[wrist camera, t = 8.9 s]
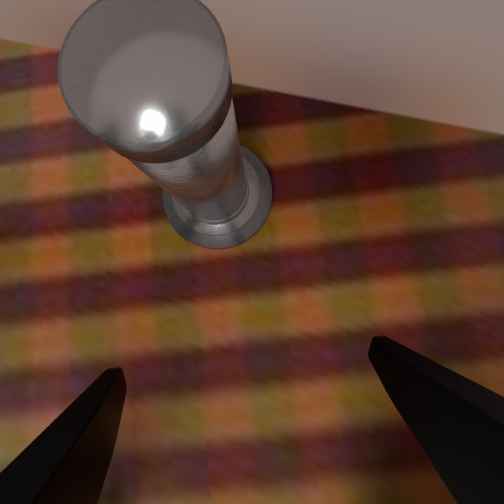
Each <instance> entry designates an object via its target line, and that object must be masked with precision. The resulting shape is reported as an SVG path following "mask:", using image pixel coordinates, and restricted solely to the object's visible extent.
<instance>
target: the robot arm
mask: <svg viewBox="0 0 504 504" xmlns="http://www.w3.org/2000/svg"><path fill="white" fill-rule="evenodd" d="M368 356H369V359H370V361H371V363H372V365H373V367H374V369H375V371H376V373H377V375H378V376H379V378H380V380H381V382H382V384H383V386H384V388H385V390H386V392H387V393H388V395H389V397H390V399H391V400H392V402H393V404H394V405H395V407H396V408H397V410H398V412H399V413H400V415H401V416H402V418H403V419H404V421H405V423H406V424H407V426H408V427H409V429H410V430H411V432H412V433H413V435H414V437H415V438H416V440H417V441H418V443H419V444H420V446H421V447H422V449H423V451H424V452H425V454H426V455H427V457H428V458H429V460H430V461H431V463H432V465H433V466H434V468H435V469H436V471H437V472H438V474H439V476H440V477H441V479H442V480H443V482H444V483H445V485H446V486H447V488H448V490H449V491H450V493H451V494H452V496H453V497H454V499H455V500H456V502H457V504H504V397H502V396H500V395H498V394H497V393H495V392H493V391H491V390H489V389H487V388H485V387H483V386H481V385H479V384H477V383H475V382H473V381H471V380H469V379H467V378H465V377H463V376H462V375H460V374H458V373H456V372H454V371H452V370H450V369H448V368H446V367H444V366H442V365H440V364H438V363H436V362H434V361H432V360H430V359H428V358H426V357H425V356H423V355H421V354H419V353H417V352H415V351H413V350H411V349H409V348H407V347H405V346H403V345H401V344H399V343H397V342H395V341H393V340H391V339H389V338H388V337H386V336H375V337H373V338H372V341H371V344H370V348H369V351H368ZM125 396H126V382H125V378H124V373H123V370H122V368H120V367H118V368H110V369H107V370H105V371H104V372H103V373H102V374H101V375H100V376H99V377H98V378H97V379H96V380H95V381H94V382H93V383H92V384H91V385H90V386H89V387H88V388H87V389H86V390H85V391H84V392H83V393H82V394H81V395H80V396H79V397H78V398H77V399H76V400H75V401H74V402H72V403H71V404H70V405H69V406H68V407H67V408H66V409H65V410H64V411H63V412H62V413H61V414H60V415H59V416H58V417H57V418H56V419H55V420H54V421H53V422H52V423H51V424H50V425H49V426H48V427H47V428H46V429H45V430H44V431H43V432H42V433H41V434H40V435H39V436H38V437H37V438H36V439H35V440H34V441H33V442H32V443H31V444H30V445H28V446H27V447H26V448H25V449H24V450H23V451H22V452H21V453H20V454H19V455H18V456H17V457H16V458H15V459H14V460H13V461H12V462H11V463H10V464H9V465H8V466H7V467H6V468H5V469H4V470H3V471H2V472H1V473H0V504H97V503H98V500H99V497H100V493H101V490H102V487H103V484H104V481H105V477H106V474H107V471H108V468H109V465H110V461H111V458H112V455H113V451H114V448H115V443H116V439H117V434H118V429H119V424H120V420H121V415H122V410H123V405H124V401H125Z"/></svg>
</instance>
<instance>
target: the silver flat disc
mask: <svg viewBox="0 0 504 504" xmlns="http://www.w3.org/2000/svg"><path fill="white" fill-rule="evenodd" d="M240 147H241V153H242V158H243V164H244V170H245V174H246V177H247V180H248V186H249V198H248V202H247V204H246V207H245V208H244V210H243V211H242V213H241V214H240V215H239V216H238V217H237V218H235V219H234V220H232V221H230V222H228V223H225V224H221V225H210V224H206V223H203V222H201V221H199V220H197V219H196V218H195V217H194V216H192V215H191V214H190V213H189V212H188V211H187V210H186V209H185V207H184V206H183V205H181V204H180V203H179V202H178V201H177V200H175V199H174V198H173V197H172V196H171V195H170V194H168V193H167V192H166V191H165V190H164V189H163V206H164V210H165V213H166V216H167V218H168V220H169V222H170V224H171V225H172V227H173V228H174V229H175V231H176V232H177V233H178V234H179V235H181V236H182V237H183V238H184V239H186V240H187V241H189V242H191V243H193V244H195V245H198V246H200V247H204V248H208V249H226V248H231V247H234V246H237V245H239V244H242V243H244V242H245V241H247V240H249V239H250V238H251V237H252V236H254V235H255V234H256V233H257V232H258V231H259V230H260V228H261V227H262V226H263V224H264V222H265V221H266V219H267V217H268V214H269V212H270V208H271V202H272V185H271V180H270V176H269V174H268V172H267V169H266V168H265V166H264V164H263V163H262V162H261V160H260V159H259V158H258V157H257V156H256V155H255V154H254V153H253V152H251V151H250V150H248V149H247V148H245V147H243V146H241V145H240Z"/></svg>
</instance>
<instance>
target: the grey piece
mask: <svg viewBox="0 0 504 504" xmlns="http://www.w3.org/2000/svg"><path fill="white" fill-rule="evenodd" d="M58 81H59V87H60V91H61V94H62V97H63V99H64V101H65V104H66V106H67V107H68V109H69V110H70V112H71V113H72V115H73V116H74V117H75V118H76V119H77V121H78V122H79V123H80V124H82V125H83V126H84V127H85V128H86V129H88V130H89V131H90V132H91V133H92V134H94V135H95V136H96V137H97V138H99V139H100V140H101V141H102V142H103V143H105V144H106V145H107V146H108V147H109V148H111V149H112V150H113V151H115V152H116V153H118V154H120V155H121V156H123V157H126V158H127V159H128V160H129V161H131V162H132V163H133V164H134V165H135V166H136V167H138V168H139V169H140V170H141V171H142V172H144V173H145V174H146V175H147V176H148V177H149V178H151V179H152V180H153V181H154V182H155V183H157V184H158V185H159V186H160V187H161V188H162V189H164V190H165V191H166V192H167V193H168V194H170V195H171V196H172V197H173V198H174V199H175V200H177V201H178V202H179V203H180V204H181V205H183V206H184V207H185V209H186V210H187V211H188V212H189V213H190V214H191V215H192V216H194V217H195V218H196V219H197V220H199V221H201V222H203V223H206V224H210V225H221V224H225V223H228V222H230V221H232V220H234V219H235V218H237V217H238V216H239V215H240V214H241V213H242V211H243V210H244V208H245V207H246V204H247V202H248V198H249V186H248V180H247V177H246V174H245V170H244V164H243V158H242V153H241V147H240V141H239V135H238V130H237V124H236V118H235V112H234V106H233V101H232V78H231V72H230V65H229V59H228V52H227V46H226V42H225V38H224V35H223V32H222V29H221V27H220V25H219V23H218V21H217V20H216V18H215V16H214V15H213V14H212V13H211V11H210V10H209V9H208V8H207V7H206V6H205V5H204V4H203V3H202V2H200V1H199V0H97V1H96V2H94V3H93V4H92V5H91V6H89V7H88V8H87V9H86V10H85V11H84V12H83V13H82V14H81V15H80V16H79V17H78V18H77V19H76V21H75V22H74V24H73V25H72V26H71V28H70V30H69V31H68V33H67V35H66V37H65V39H64V42H63V44H62V47H61V51H60V55H59V61H58Z"/></svg>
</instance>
